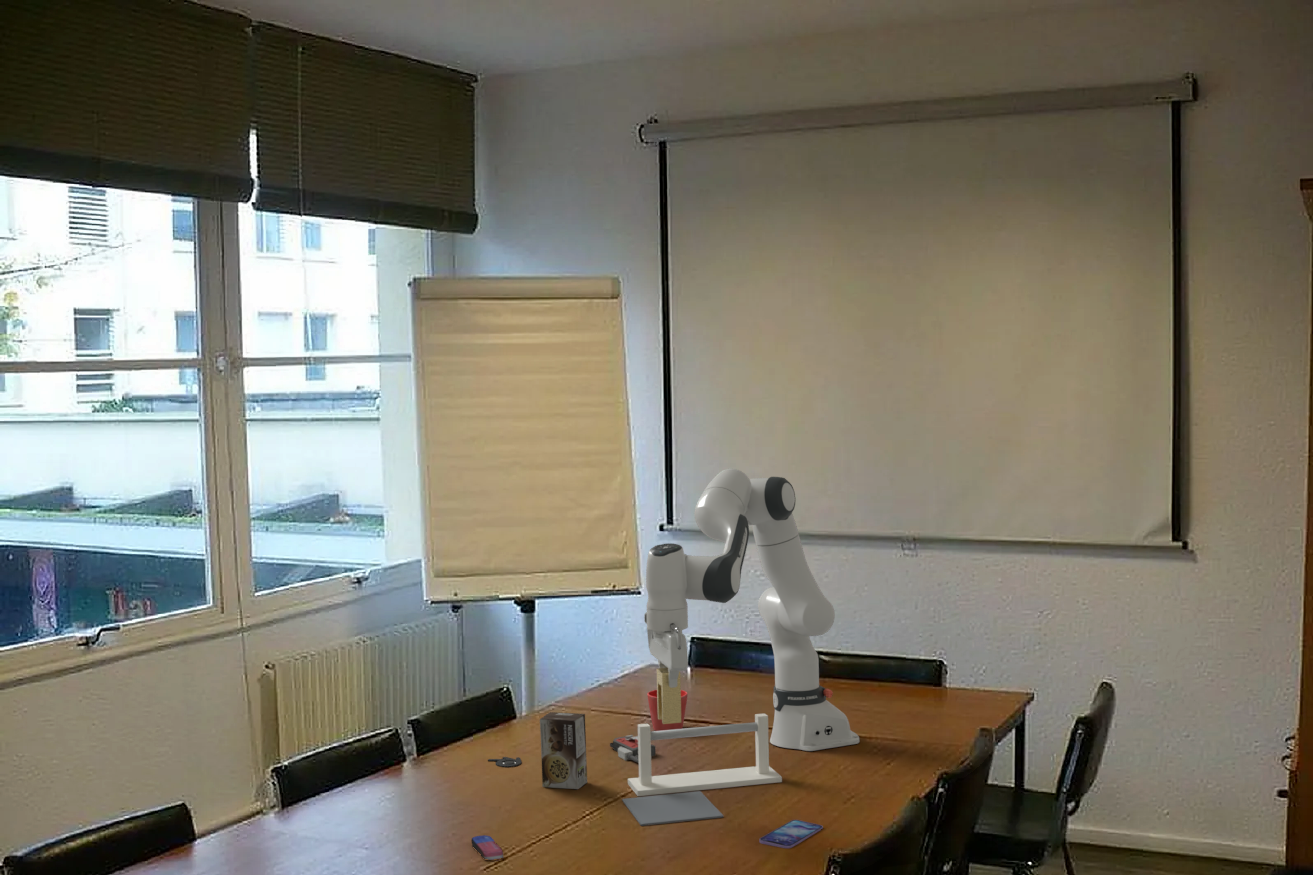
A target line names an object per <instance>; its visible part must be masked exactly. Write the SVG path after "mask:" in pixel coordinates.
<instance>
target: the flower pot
mask: <svg viewBox="0 0 1313 875" xmlns="http://www.w3.org/2000/svg"><path fill="white" fill-rule="evenodd" d="M647 701H648V702H647V703H648V707H649V713H650V719H651V723H652V728H653V731H662V730H673V729H684V728H683V727H684V722H685V721H684V720H685V717H686V710H687V708H686V707H687V702H688V692H687V691H686V690H684V689H681V723H671V724H663V723H662V719H660V720H659V719H658V710H657V689H654V690H650V691H648V692H647Z"/></svg>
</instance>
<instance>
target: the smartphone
mask: <svg viewBox="0 0 1313 875" xmlns="http://www.w3.org/2000/svg"><path fill="white" fill-rule="evenodd" d="M823 828H824V826H823V825H821V824H819V823H818V824H817V823H813V822H809V821H803V820H800V819H792V820H790V821H788V822H786V823H785V824H783V825H781V826H780V827H778V828H775V829H774V830H771V831H770V832H769V833H766V834H765V835H763V836H762V837H759V843H760V844H763V845H767V846H772V847H776V848H777V847H778V848H780V849H781V848H782V849H791V848H793V847H795V846H797V845H799V844H800V843H802V842H804V841H806V839H808V838H810V837H812V836H813V835H815V834H816V833H819V832H820V831H822V830H823ZM821 829H822V830H821Z"/></svg>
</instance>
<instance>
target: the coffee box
mask: <svg viewBox="0 0 1313 875" xmlns="http://www.w3.org/2000/svg"><path fill="white" fill-rule="evenodd" d="M539 731H540V733H539V734H540V753H541V755H540V756H541V778H542V779H541V781H542V783H541V784H542V785H541V787H543V788H551V789H552V788H553V789H566V790H567V789H570V790H579V789H581V788H582V787H583V786H585V785H586V784H587V783H588V767H587V764H588V763H587V760H588V759H587V738H586V737H587V736H586V714H585V713H577V712H576V713H574V712H572V713H571V712H554V711H550V712H548V713H547V714H545V715H544V716H543V717H541V718H540V719H539Z"/></svg>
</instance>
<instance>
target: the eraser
mask: <svg viewBox="0 0 1313 875" xmlns="http://www.w3.org/2000/svg"><path fill="white" fill-rule="evenodd" d="M471 844H472V845H471V846H472V848H473V847H474V848H475V849H476V850H477V851H478V852H479V853H480V854H481V856H482V857H483V858H484V859H488V860H494V859H500V858H503V859H504V852H503V849H502V848H501V847H500V846H499V845H498V843H497V842H496V841H495V840H494V839H493V838H492V836H489V835H484V834H483V835H476V836H473V837H471ZM474 848H473V849H474ZM475 849H474V850H475ZM478 852H477V853H478ZM482 857H481V858H482ZM483 858H482V859H483ZM484 859H483V860H484Z"/></svg>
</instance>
